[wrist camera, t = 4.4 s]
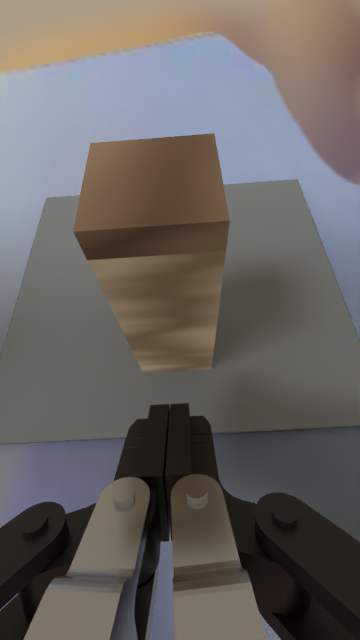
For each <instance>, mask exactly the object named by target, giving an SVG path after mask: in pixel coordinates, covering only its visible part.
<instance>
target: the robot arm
mask: <svg viewBox="0 0 360 640" xmlns="http://www.w3.org/2000/svg"><path fill="white" fill-rule="evenodd" d="M169 532H171V541H173V564H174V577H173V597H174V624H175V640H266V637H265V634H264V630H263V626H262V622H261V618H260V615H259V612H260V614H261V615H262V617H263V618H264V619H265V621H266V622H267V623H268V624H269V625H270V627H271V628H272V629H273V630H274V631H275V632H276V634H277V635H278V636H279V637H280V638H281V639H282V640H360V542H359V541H357V540H356V539H354V538H353V537H352V536H350V535H349V534H347V533H346V532H345V531H343V530H342V529H340V528H339V527H337V526H336V525H335V524H333V523H332V522H330V521H329V520H328V519H326V518H325V517H323V516H322V515H320V514H319V513H318V512H316V511H315V510H313V509H312V508H311V507H309V506H308V505H306V504H305V503H303V502H302V501H301V500H299V499H297V498H296V497H293V496H291V495H288V494H284V493H271V494H267V495H265V496H263V497H262V498H261V499H260V500H259V501H258V503H257V504H255V503H251V502H247V501H243V500H240V499H238V498H235V497H233V496H232V495H230V494H229V493H228V492H227V491H226V490H225V489H224V488H223V487H222V485H221V483H220V481H219V477H218V471H217V464H216V458H215V451H214V444H213V438H212V431H211V425H210V423H209V421H208V420H207V419H206V418H205V417H204V416H190V409H189V403H177V404H170V405H169V404H159V405H150V409H149V414H148V419H137V420H136V421H135V422H134V423H133V424H132V425H131V426H130V427H129V430H128V433H127V437H126V440H125V444H124V449H123V451H122V454H121V458H120V461H119V465H118V468H117V471H116V475H115V478H114V482H112V483H110V484H109V485H108V486H107V487H106V488H105V489H104V490H103V491H102V493H101V494H100V496H99V498H98V501H97V502H96V503H95V504H93V505H91V506H89V507H86V508H83V509H80V510H77V511H74V512H71V513H68V514H65V510H64V508H63V507H62V506H61V505H60V504H58V503H55V502H43V503H39V504H36V505H34V506H32V507H30V508H28V509H26V510H25V511H23V512H22V513H20V514H19V515H18V516H16V517H15V518H14V519H12V520H11V521H9V522H8V523H7V524H5V525H4V526H2V527H1V528H0V609H1V608H2V607H3V606H4V605H5V604H6V603H7V602H9V601H10V600H11V599H12V598H13V597H14V596H15V595H16V594H17V593H18V595H17V596H16V597H15V598H14V599H13V600H12V601H11V602H10V603H8V604H7V605H6V606H5V607H4V608H3V609H2V610H1V611H0V640H149V639H150V632H151V624H152V617H153V610H154V603H155V596H156V588H157V581H158V574H159V567H158V563H159V556H160V542H161V541H169ZM258 610H259V611H258Z"/></svg>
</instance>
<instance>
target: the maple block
mask: <svg viewBox="0 0 360 640" xmlns="http://www.w3.org/2000/svg"><path fill="white" fill-rule="evenodd" d="M229 223H230V219H229V213H228V208H227V202H226V197H225V191H224V186H223V180H222V175H221V169H220V164H219V158H218V152H217V147H216V141H215V136H214V134H203V135H190V136H177V137H164V138H151V139H139V140H126V141H113V142H100V143H91V144H90V149H89V154H88V159H87V164H86V169H85V174H84V179H83V184H82V189H81V194H80V199H79V204H78V209H77V214H76V219H75V224H74V229H73V233H74V235H75V237H76V239H77V241H78V243H79V245H80V247H81V249H82V251H83V253H84V255H85V257H86V259H87V261H88V263H89V265H90V267H91V269H92V271H93V273H94V275H95V277H96V279H97V281H98V283H99V285H100V287H101V289H102V291H103V293H104V295H105V297H106V299H107V301H108V303H109V305H110V307H111V309H112V311H113V313H114V316H115V318H116V320H117V322H118V324H119V326H120V328H121V330H122V332H123V334H124V336H125V338H126V340H127V342H128V344H129V346H130V348H131V350H132V352H133V354H134V356H135V358H136V360H137V362H138V364H139V366H140V368H141V370H142V372H143V373H155V372H173V371H191V370H208V369H212V361H213V353H214V345H215V337H216V329H217V321H218V313H219V305H220V297H221V288H222V280H223V272H224V264H225V256H226V248H227V240H228V232H229Z"/></svg>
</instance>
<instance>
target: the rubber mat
mask: <svg viewBox="0 0 360 640" xmlns="http://www.w3.org/2000/svg"><path fill="white" fill-rule="evenodd" d="M223 186H224V191H225V197H226V202H227V208H228V213H229V219H230V223H229V232H228V240H227V248H226V256H225V264H224V272H223V280H222V288H221V297H220V305H219V313H218V321H217V329H216V337H215V345H214V353H213V361H212V369H208V370H191V371H173V372H155V373H143V372H142V370H141V368H140V366H139V364H138V362H137V360H136V358H135V356H134V354H133V352H132V350H131V348H130V346H129V344H128V342H127V340H126V338H125V336H124V334H123V332H122V330H121V328H120V326H119V324H118V322H117V320H116V318H115V316H114V313H113V311H112V309H111V307H110V305H109V303H108V301H107V299H106V297H105V295H104V293H103V291H102V289H101V287H100V285H99V283H98V281H97V279H96V277H95V275H94V273H93V271H92V269H91V267H90V265H89V263H88V261H87V259H86V257H85V255H84V253H83V251H82V249H81V247H80V245H79V243H78V241H77V239H76V237H75V235H74V233H73V229H74V224H75V219H76V214H77V209H78V204H79V199H80V195H78V196H65V197H51V198H46V201H45V204H44V208H43V211H42V215H41V218H40V222H39V225H38V229H37V232H36V236H35V239H34V242H33V246H32V249H31V253H30V256H29V260H28V263H27V267H26V270H25V274H24V277H23V281H22V284H21V288H20V291H19V295H18V298H17V302H16V305H15V309H14V312H13V316H12V319H11V323H10V326H9V330H8V333H7V337H6V340H5V344H4V347H3V351H2V354H1V358H0V445H2V444H21V443H41V442H60V441H80V440H99V439H119V438H126V437H127V433H128V430H129V427H130V426H131V425H132V424H133V423H134V422H135V421H136V420H137V419H148V414H149V409H150V405H159V404H169V405H170V404H177V403H189V409H190V416H204V417H205V418H206V419H207V420H208V421H209V423H210V425H211V431H212V434H216V433H236V432H255V431H275V430H294V429H314V428H333V427H353V426H360V341H359V338H358V336H357V333H356V330H355V328H354V325H353V323H352V320H351V317H350V315H349V312H348V310H347V307H346V304H345V302H344V299H343V297H342V294H341V292H340V289H339V286H338V284H337V281H336V279H335V276H334V273H333V271H332V268H331V266H330V263H329V260H328V258H327V255H326V253H325V250H324V247H323V245H322V242H321V240H320V237H319V234H318V232H317V229H316V227H315V224H314V222H313V219H312V216H311V214H310V211H309V209H308V206H307V203H306V201H305V198H304V196H303V193H302V190H301V188H300V185H299V183H298V180H297V179H296V180H282V181H268V182H255V183H241V184H228V185H223Z"/></svg>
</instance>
